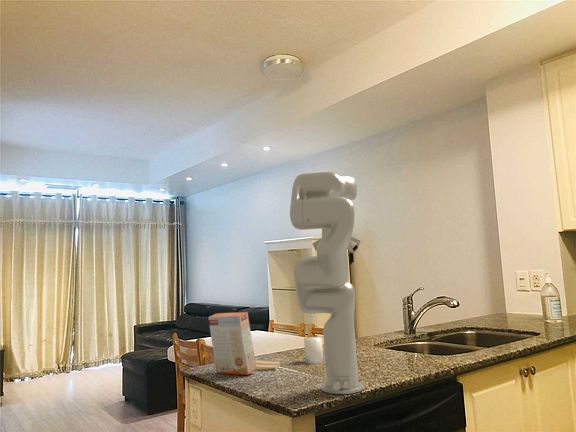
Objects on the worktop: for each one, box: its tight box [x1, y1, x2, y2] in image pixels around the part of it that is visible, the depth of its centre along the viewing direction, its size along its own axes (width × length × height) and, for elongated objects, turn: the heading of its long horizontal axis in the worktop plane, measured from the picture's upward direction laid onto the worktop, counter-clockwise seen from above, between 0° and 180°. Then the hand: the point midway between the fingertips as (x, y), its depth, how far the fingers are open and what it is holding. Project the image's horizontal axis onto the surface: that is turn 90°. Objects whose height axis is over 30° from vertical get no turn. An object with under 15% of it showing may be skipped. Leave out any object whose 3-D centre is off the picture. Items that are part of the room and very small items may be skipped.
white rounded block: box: [303, 336, 324, 365], centre depth 170 cm, size 7×7×9 cm
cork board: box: [255, 358, 283, 371], centre depth 167 cm, size 16×18×1 cm
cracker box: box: [208, 311, 256, 376], centre depth 156 cm, size 14×6×21 cm, turn 60°
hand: (337, 265), depth 157 cm, fingers open, 9 cm apart
